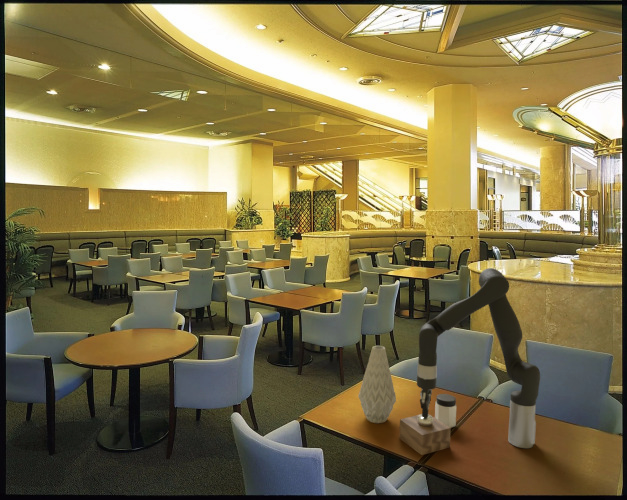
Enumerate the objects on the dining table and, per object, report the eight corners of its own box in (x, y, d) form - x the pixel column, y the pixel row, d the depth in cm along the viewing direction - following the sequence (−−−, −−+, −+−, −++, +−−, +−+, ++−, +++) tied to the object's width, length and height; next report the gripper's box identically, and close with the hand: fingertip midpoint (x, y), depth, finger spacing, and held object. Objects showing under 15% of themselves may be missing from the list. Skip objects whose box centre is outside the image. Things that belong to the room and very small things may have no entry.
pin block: (426, 431, 187) (427, 413, 187) (449, 447, 175) (450, 427, 174) (399, 438, 181) (400, 419, 181) (421, 455, 169) (422, 435, 168)
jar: (457, 428, 190) (459, 401, 189) (439, 428, 190) (440, 401, 189) (450, 419, 199) (451, 393, 198) (432, 419, 199) (433, 393, 198)
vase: (378, 431, 186) (381, 355, 183) (350, 417, 199) (352, 346, 196) (403, 420, 197) (405, 348, 194) (375, 407, 210) (377, 339, 207)
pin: (425, 435, 182) (426, 413, 181) (435, 442, 177) (436, 419, 176) (413, 438, 179) (414, 415, 179) (423, 445, 174) (424, 422, 173)
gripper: (420, 368, 183) (418, 408, 185) (413, 378, 171) (412, 421, 172) (439, 371, 180) (437, 412, 181) (433, 382, 168) (431, 426, 169)
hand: (425, 416), depth 177 cm, fingers closed
